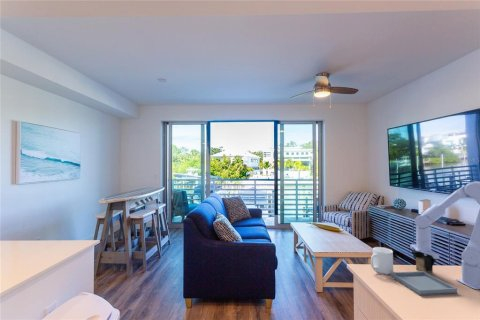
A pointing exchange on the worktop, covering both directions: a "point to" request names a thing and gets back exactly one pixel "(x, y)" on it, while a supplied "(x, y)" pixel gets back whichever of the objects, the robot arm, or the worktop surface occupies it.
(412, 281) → the tray
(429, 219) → the robot arm
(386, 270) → the cup
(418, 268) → the block
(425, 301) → the worktop surface
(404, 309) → the worktop surface
